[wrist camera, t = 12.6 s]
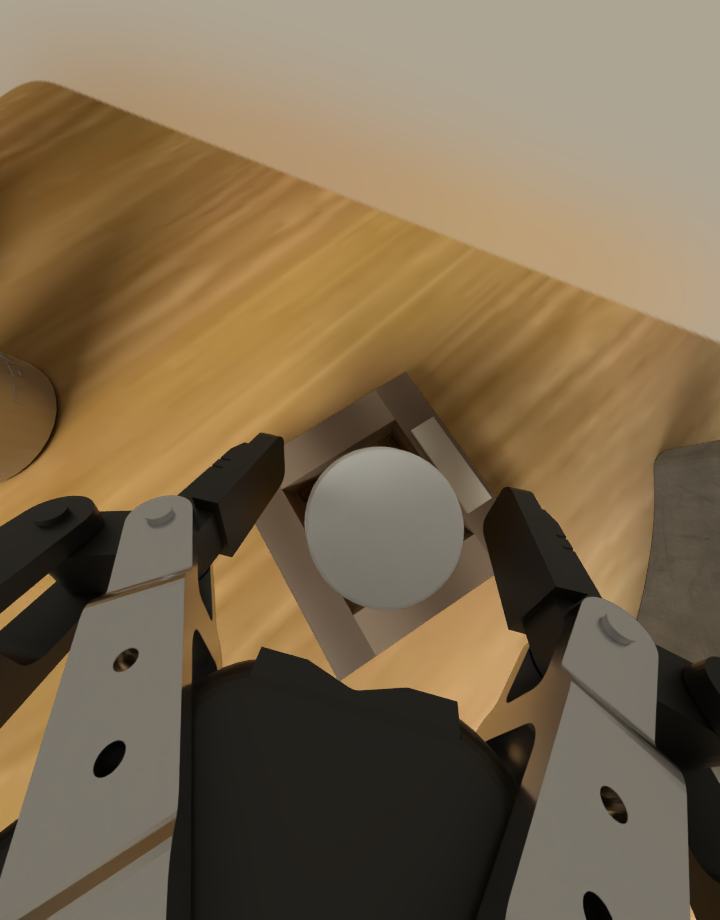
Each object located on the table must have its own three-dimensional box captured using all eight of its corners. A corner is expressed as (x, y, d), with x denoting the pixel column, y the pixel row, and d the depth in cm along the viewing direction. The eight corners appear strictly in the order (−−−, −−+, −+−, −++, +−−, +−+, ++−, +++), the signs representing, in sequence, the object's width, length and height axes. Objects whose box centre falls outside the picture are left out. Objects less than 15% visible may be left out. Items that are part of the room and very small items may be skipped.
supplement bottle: (374, 453, 17) (380, 380, 7) (437, 513, 16) (541, 522, 6) (314, 514, 16) (232, 525, 7) (376, 579, 15) (388, 701, 6)
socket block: (344, 646, 15) (338, 684, 12) (255, 482, 17) (228, 476, 13) (502, 540, 15) (536, 548, 12) (399, 394, 17) (405, 369, 14)
